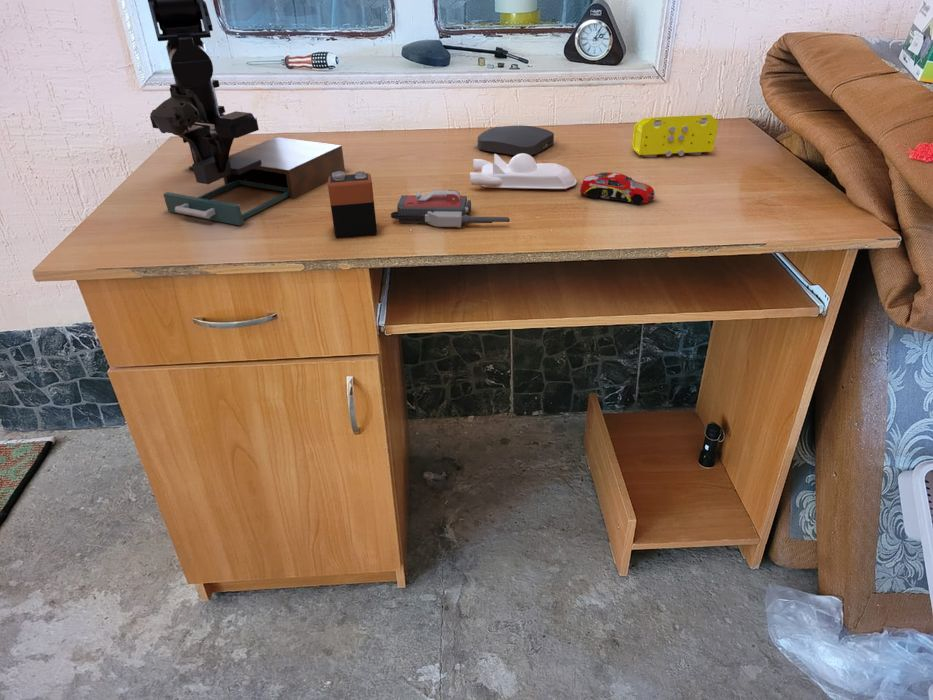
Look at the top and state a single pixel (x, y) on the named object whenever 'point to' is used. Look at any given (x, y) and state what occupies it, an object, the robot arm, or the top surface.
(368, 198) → the battery
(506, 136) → the media streaming box
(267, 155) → the drawer unit
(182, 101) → the robot arm
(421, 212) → the walkie-talkie
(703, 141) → the yellow toy chassis
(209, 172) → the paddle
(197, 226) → the top surface
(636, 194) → the race car
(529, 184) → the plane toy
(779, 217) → the top surface
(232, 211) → the drawer
